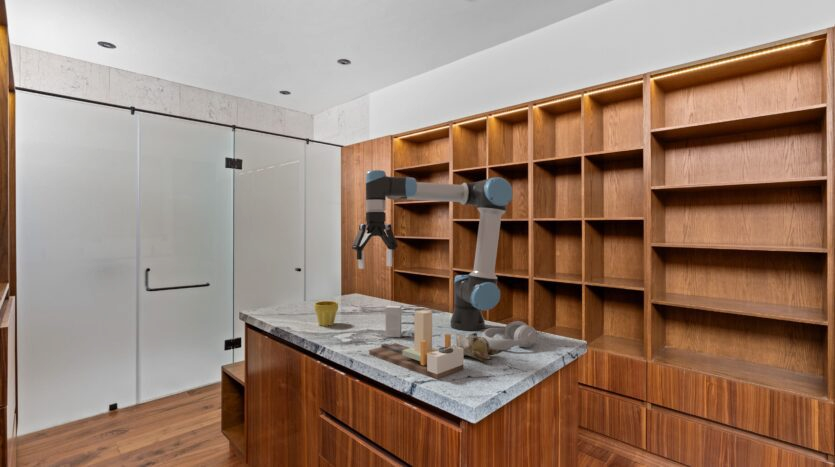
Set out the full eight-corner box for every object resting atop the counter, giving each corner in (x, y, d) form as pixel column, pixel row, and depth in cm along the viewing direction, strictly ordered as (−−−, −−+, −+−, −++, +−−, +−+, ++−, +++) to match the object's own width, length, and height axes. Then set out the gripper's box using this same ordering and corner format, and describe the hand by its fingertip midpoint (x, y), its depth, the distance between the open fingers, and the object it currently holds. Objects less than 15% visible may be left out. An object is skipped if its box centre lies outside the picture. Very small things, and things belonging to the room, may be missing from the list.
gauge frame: (420, 364, 121) (420, 341, 121) (447, 355, 130) (447, 333, 130) (423, 365, 120) (423, 342, 120) (450, 356, 129) (450, 334, 129)
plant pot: (335, 327, 177) (335, 305, 177) (311, 327, 177) (311, 305, 177) (340, 321, 187) (340, 300, 187) (318, 321, 188) (317, 300, 187)
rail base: (369, 354, 139) (369, 347, 139) (395, 347, 148) (395, 340, 148) (437, 379, 117) (437, 370, 117) (463, 369, 125) (463, 361, 125)
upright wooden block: (402, 358, 129) (402, 311, 129) (422, 352, 136) (422, 307, 136) (424, 365, 122) (424, 316, 122) (444, 359, 129) (444, 312, 128)
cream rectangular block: (426, 370, 120) (426, 351, 119) (453, 361, 128) (453, 343, 128) (437, 374, 116) (437, 354, 116) (463, 364, 125) (463, 346, 125)
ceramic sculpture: (463, 325, 144) (503, 334, 137) (461, 349, 145) (502, 359, 137) (449, 332, 135) (492, 342, 127) (448, 358, 136) (490, 368, 128)
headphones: (523, 335, 163) (477, 344, 159) (521, 316, 162) (474, 325, 159) (546, 348, 145) (494, 359, 141) (543, 327, 145) (491, 337, 141)
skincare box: (401, 334, 165) (401, 305, 165) (400, 337, 161) (400, 307, 161) (387, 334, 166) (387, 305, 166) (385, 337, 161) (385, 307, 161)
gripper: (394, 212, 165) (393, 264, 165) (342, 210, 147) (342, 268, 148) (406, 212, 159) (406, 265, 160) (354, 210, 142) (354, 270, 142)
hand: (375, 267), depth 154 cm, fingers open, 13 cm apart
